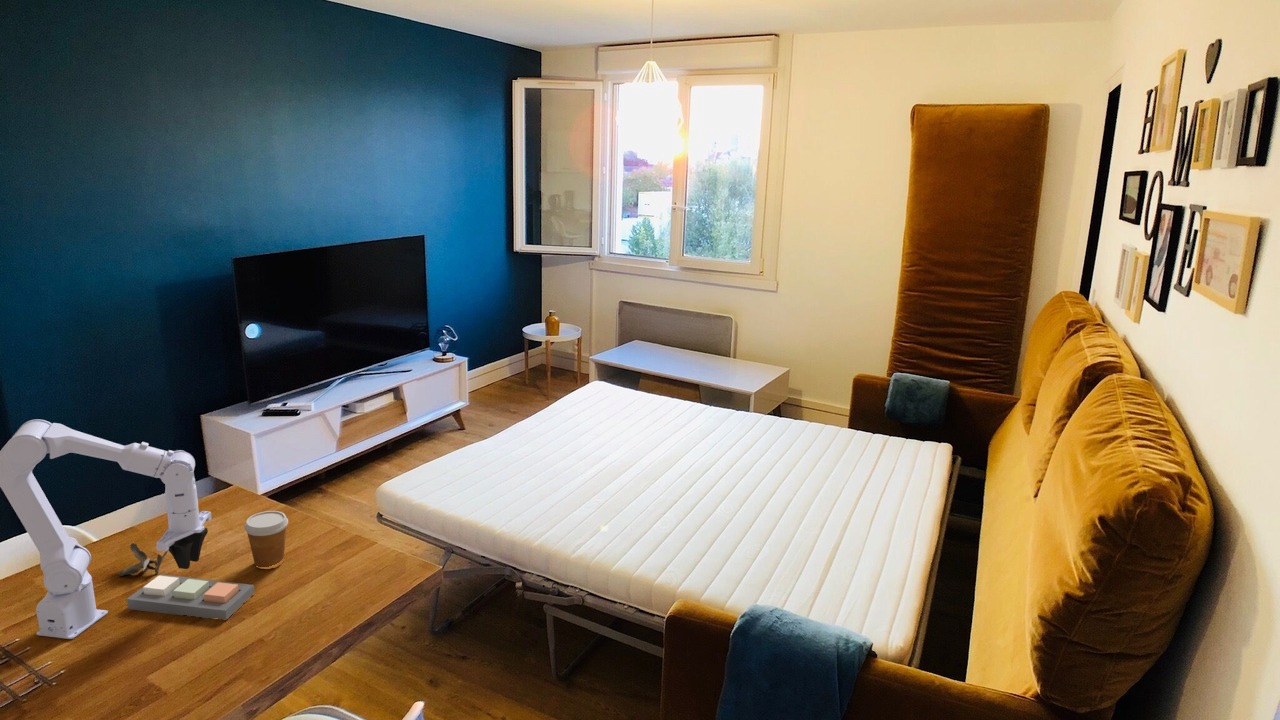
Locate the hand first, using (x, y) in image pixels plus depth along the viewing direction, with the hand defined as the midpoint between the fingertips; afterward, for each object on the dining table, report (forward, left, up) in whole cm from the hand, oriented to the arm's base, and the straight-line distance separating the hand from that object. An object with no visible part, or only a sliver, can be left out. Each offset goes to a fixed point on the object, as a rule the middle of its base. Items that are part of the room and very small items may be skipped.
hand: (188, 564), depth 161 cm
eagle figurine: (+9, +19, -10) cm, 23 cm away
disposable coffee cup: (+18, -7, -10) cm, 22 cm away
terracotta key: (0, -7, -8) cm, 11 cm away
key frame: (0, 0, -9) cm, 9 cm away
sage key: (0, 0, -8) cm, 8 cm away
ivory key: (0, +7, -8) cm, 11 cm away
